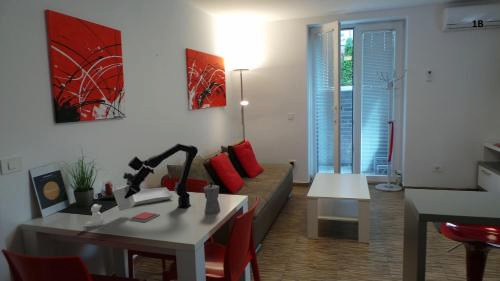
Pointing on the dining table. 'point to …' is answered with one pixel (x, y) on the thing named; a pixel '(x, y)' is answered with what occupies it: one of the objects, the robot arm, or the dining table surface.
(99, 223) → the sitting furry creature
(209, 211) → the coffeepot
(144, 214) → the ink pad tray
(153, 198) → the square plate
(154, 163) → the robot arm
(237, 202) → the dining table surface
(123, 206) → the supplement box
